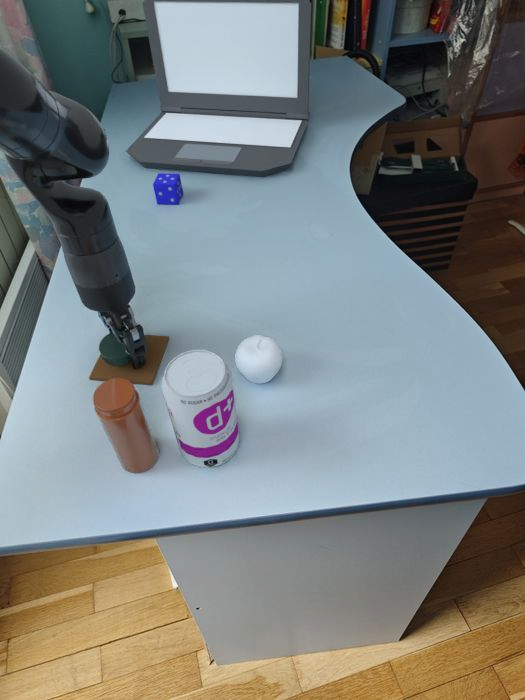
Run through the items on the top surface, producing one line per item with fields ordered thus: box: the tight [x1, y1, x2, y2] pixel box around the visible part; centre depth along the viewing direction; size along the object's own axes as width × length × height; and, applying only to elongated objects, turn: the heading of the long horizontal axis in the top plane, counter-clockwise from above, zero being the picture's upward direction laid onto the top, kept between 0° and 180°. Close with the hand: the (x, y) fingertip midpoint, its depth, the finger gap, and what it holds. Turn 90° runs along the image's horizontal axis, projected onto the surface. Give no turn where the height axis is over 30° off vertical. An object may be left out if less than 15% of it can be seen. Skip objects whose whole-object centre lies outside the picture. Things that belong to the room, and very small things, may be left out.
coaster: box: [88, 334, 170, 386], centre depth 77 cm, size 10×10×1 cm
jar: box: [92, 378, 160, 474], centre depth 60 cm, size 5×5×14 cm
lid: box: [98, 330, 130, 366], centre depth 75 cm, size 6×6×2 cm
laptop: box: [125, 0, 313, 178], centre depth 117 cm, size 43×31×34 cm
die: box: [152, 172, 184, 206], centre depth 110 cm, size 5×5×5 cm
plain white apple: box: [234, 334, 283, 384], centre depth 71 cm, size 7×7×8 cm
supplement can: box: [160, 349, 241, 469], centre depth 61 cm, size 8×8×15 cm
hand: (130, 353), depth 77 cm, fingers closed on lid, 5 cm apart
